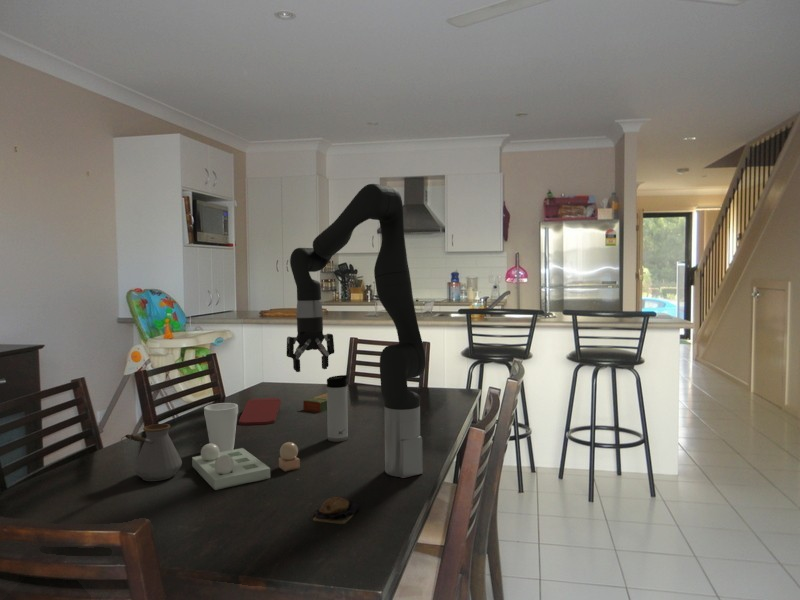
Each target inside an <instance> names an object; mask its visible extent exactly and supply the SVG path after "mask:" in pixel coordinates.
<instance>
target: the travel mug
mask: <svg viewBox="0 0 800 600" xmlns="http://www.w3.org/2000/svg"><path fill="white" fill-rule="evenodd" d="M348 378H349V375H348V374H342V375H341V374H340V375H333V376H330V377H328V378H326V393H327V410H326V412H327V413H326V416H327V418H326V419H327V420H326V421H327V441H329V442H332V443H340V442H341V443H342V442H345V441H347V440H348V439H349V434H348V433H349V431H348V429H349V428H348V427H349V426H348V425H349V423H348V418H349V417H348V385H347V384H348V380H347V379H348Z"/></svg>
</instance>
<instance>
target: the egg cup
mask: <svg viewBox="0 0 800 600" xmlns="http://www.w3.org/2000/svg"><path fill="white" fill-rule="evenodd" d="M278 468H279V469H281V470H282V471H283V472H290V471H294V470H300V469H301V459H300V458H299V457H297V456H296V458H295V459H293V460H288V461H287V460H284V459H283V458H282V457H281V456H280V457H279V458H278Z"/></svg>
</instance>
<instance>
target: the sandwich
mask: <svg viewBox="0 0 800 600" xmlns="http://www.w3.org/2000/svg"><path fill="white" fill-rule="evenodd" d="M359 507H360V506H359V503H358V502H356V501H355V500H353V499H351V500H348V499H345V498H344V497H339V496H331V497H329V498H327V499H325V501H324V502H323V503H322V505H321V507H319V508H318V509H316V510H315V512H314V513H315V514H314V515H315V516H314V517H312V521H313V522H320V523H331V524H339V525H345V524H347V522H349V520H351V519H352V518H353V517H354V516H355V514H356V513H357V512H358V510H359Z"/></svg>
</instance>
